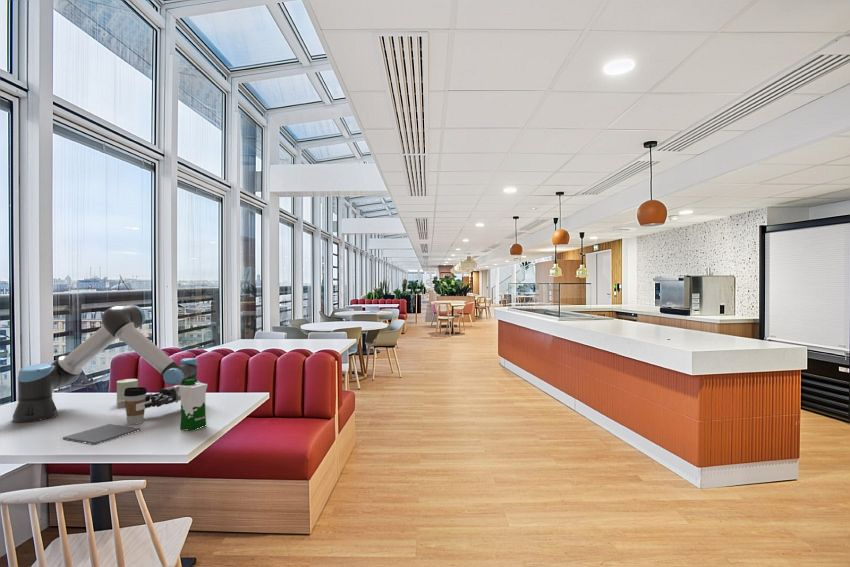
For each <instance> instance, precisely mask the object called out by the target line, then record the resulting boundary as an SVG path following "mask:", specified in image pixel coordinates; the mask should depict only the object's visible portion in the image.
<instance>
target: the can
mask: <svg viewBox="0 0 850 567" xmlns="http://www.w3.org/2000/svg"><path fill="white" fill-rule="evenodd" d="M130 387H139V379H137V378H126V379H120V380H117V381H116V403H117V402H118V401H122V400H125V396H124V392H125V389H126V388H130Z"/></svg>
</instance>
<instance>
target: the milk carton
mask: <svg viewBox="0 0 850 567" xmlns="http://www.w3.org/2000/svg"><path fill="white" fill-rule="evenodd" d="M179 389H180V394H181V400H180V425H179V429H180V430H183V429H188V430H187V431H190V430H194V431H196V430H195V429H197V428H200V427H202V426H205V425H206V426H207V416H206V392H207V389H208V383H203V382H201V383H195V379H186V380H184V385H181V386H179ZM206 426H205V427H206ZM202 428H203V427H202ZM200 429H201V428H200ZM197 430H198V429H197Z"/></svg>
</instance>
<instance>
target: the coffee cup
mask: <svg viewBox="0 0 850 567" xmlns="http://www.w3.org/2000/svg"><path fill="white" fill-rule="evenodd" d="M147 394H148V391H147V388H146V387H144V386H143V387H141V386H138V387H130V388H126V389H125V392H124V396H125V415H126V423H128V424H127V425H131V424H132V425H135V424H134V423H139V424H141V423H140V422H142V421H143V422H144V418H145V410H146V409H142V410H139V411H136V404H139V403H143V402H146V398H145V397H146V395H147ZM143 422H142V423H143Z"/></svg>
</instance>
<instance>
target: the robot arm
mask: <svg viewBox="0 0 850 567" xmlns="http://www.w3.org/2000/svg"><path fill="white" fill-rule="evenodd" d="M145 321H146V314H145V311H144V310H143V309H142V308H141V307H140V306H137V305H134V304H126V305H117V306H111V307H109V308H107V309H106V310H105V311H104V312H103V314H102V316H101V324H102V326H101V327H100V328H99V329H97V330H96V331H95V332H94V333H92V335H90V336H89V337H88V338H87V339H85V340H84V341H82V342H81V343H80V345H78V346H77V347H75V348H74V349H73V350H72V351H71V352H69V353H68V355H60V356H59V357H58V358H57V359H56V360H54V361H53V362H52V363H35V364H30V365H28V366H27V365H26V366H24V367H22V368H20V369H19V371H18V374H17V375H18V376H17V383H18V384H17V386H18V387H17V389H18V390H17V395H18V396H17V399H18V401H17V405H16V407H15V409H14V411H13V412H14V413H13V414H12V422H14V421H15V423H27V421H30V422H35V421H34V420H37V421H41V420H40V419H43V420H46V419H45V418H47V419H50V418H49V417H51V418H53V417H52V416H54V417H56V416H57V415H58V409H57V407H56V404H55V402H54V399H53V390H55V389H59V388H62V387H67V386H69V385H71V384H72V383H74V382H76V381H77V380H78V378H79V377H80V374H81V373H82V372H83V368H84V367H85V366H86V365H87V364H88V363H89V362H91V361H92V360H93V359H94V358H95V357H96V356H98V355H99V354H100V353H101V352H102V351H104V350H105V349H106V348H107V347H108V346H110V345H111V344H112V343H113V342H115V341H116V340H117V339H119V340H120V341H122V342H123V343H124V344H126V345H127V346H128V347H129V348H130V349H132V350H133V351H134V352H135V353H136V354H137V355H138V356H140V357H141V358H142V359H143V360H145V361H146V362H147V363H148V364H149V365H150V366H152V368H153V369H155V370H156V371H157V372H158V373H159V374H161V375H162V379H163V381H164V383H165V384H166V385H169V387H164V388H161V390H160V391H159V392H155V393H146V397H145V398H146V402H143V403H139V404H136V411H139V410H142V409H145V410H146V409H149V408H152V407H153V408H155V407H157V408H158V407H161V406H163V405H169V404H173V403H176V404H177V403H179V401H180V402H181V394H180V389H179V386H181V385H184V380H186V379H195V383H202V382H201V381H199V380H198V367H199V366H198V360H197V358H194V357H186V358H182V359H180V361H179V364H178V363H177V362H176V361H175V360H173V359H172V358H171V357H170V356H169V355H168V354H166V353H165V352H164V351H163V350H161V348H160V347H158V346H157V345H156V344H155V343H154V342H152V341H151V340H150V339H149V338H148V337H147V336H146V335H145V334H143V332H141V331H140V330H139V329H138V328H141V327H142V326H143V325H144V323H145ZM120 408H121V409H122V408H126V406H125V400H122V401H118V402H117V401H116V409H120ZM55 415H56V416H55Z"/></svg>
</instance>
